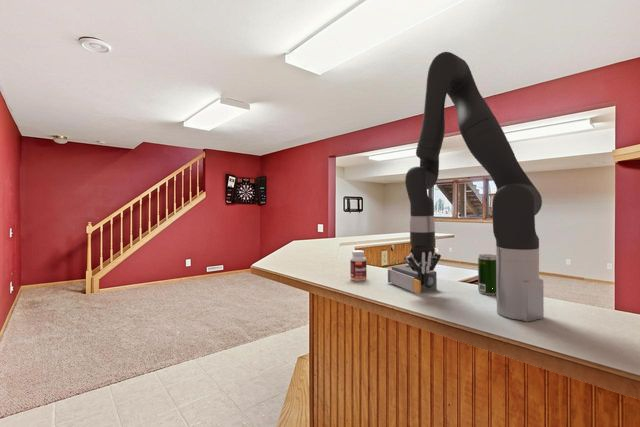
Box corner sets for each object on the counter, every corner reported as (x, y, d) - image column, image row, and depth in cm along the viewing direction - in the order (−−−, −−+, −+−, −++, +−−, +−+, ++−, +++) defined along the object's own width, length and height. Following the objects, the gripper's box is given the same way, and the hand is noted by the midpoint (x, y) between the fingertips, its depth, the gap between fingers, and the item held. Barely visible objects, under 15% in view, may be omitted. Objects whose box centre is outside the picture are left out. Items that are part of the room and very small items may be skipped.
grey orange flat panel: (420, 294, 99) (420, 279, 99) (417, 294, 99) (416, 280, 98) (390, 281, 116) (390, 269, 116) (387, 282, 115) (387, 269, 115)
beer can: (491, 296, 96) (491, 257, 96) (474, 292, 101) (474, 255, 100) (500, 293, 99) (500, 255, 99) (484, 289, 104) (483, 253, 103)
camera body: (437, 289, 105) (437, 270, 105) (418, 292, 102) (418, 272, 102) (409, 280, 118) (409, 263, 118) (391, 282, 115) (391, 265, 115)
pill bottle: (355, 282, 118) (354, 252, 118) (347, 278, 124) (347, 250, 123) (369, 280, 120) (369, 251, 120) (361, 277, 126) (361, 249, 126)
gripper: (412, 232, 94) (413, 289, 94) (447, 229, 99) (448, 284, 99) (397, 230, 101) (398, 284, 101) (430, 228, 106) (431, 279, 106)
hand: (423, 284), depth 100 cm, fingers closed
